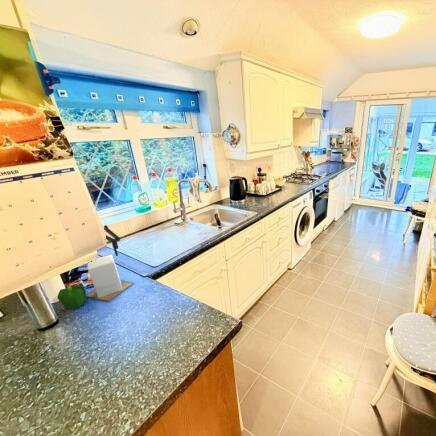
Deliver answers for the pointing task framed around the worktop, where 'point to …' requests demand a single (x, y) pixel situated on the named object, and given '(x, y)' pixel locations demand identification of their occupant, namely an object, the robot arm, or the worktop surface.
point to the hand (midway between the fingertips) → (99, 259)
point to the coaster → (109, 297)
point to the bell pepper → (72, 296)
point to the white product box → (104, 276)
